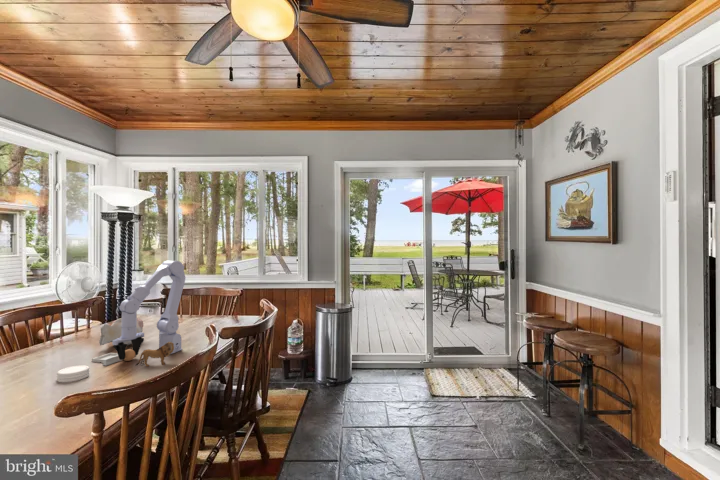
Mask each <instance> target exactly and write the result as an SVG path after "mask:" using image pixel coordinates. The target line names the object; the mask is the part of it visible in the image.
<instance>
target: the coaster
mask: <svg viewBox="0 0 720 480" xmlns="http://www.w3.org/2000/svg"><path fill="white" fill-rule="evenodd" d="M89 376H90V367H89V366H88V365H73V366H67V367H64V368H62V369H60V370H58V371H57V372H56V382H58V383H71V382H78V381H80V380H84V379H86V378H88V377H89Z"/></svg>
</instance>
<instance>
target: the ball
mask: <svg viewBox="0 0 720 480" xmlns="http://www.w3.org/2000/svg"><path fill="white" fill-rule="evenodd" d="M135 357H136V356H135V351H134V350H133V348H132V349H131V348H128V349H126V350H125V358H124V361H127V362H130V361H132V360H133V359H135Z"/></svg>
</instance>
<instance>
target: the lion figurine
mask: <svg viewBox="0 0 720 480" xmlns="http://www.w3.org/2000/svg"><path fill="white" fill-rule="evenodd" d="M173 350H174V343H172V342H168V343H166V344H165V345H163V346H161V347H160V348H159V347H158V348H157V349H149V348H148V349H144V350H143V351H142V352H141V353H140V355H139V360H138V362H137V363H136V364H135V367H136V366H137V367H138V365H141V366H142V365H145V367H149V366H150V364H148V360H149V358H151V359H160V362H161V363H160V364H161V365H162V366H165V365H166V361H165V358H167V357H169V356H170V355H172V354H171V353H172V352H173Z"/></svg>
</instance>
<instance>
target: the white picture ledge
mask: <svg viewBox="0 0 720 480" xmlns="http://www.w3.org/2000/svg"><path fill="white" fill-rule="evenodd" d="M136 356H137V355H135V357H136ZM121 361H122V360H120V359H119V356H118V355H116V356H113V357H110V358H107V359H104V363H102V366H105V367H107V366H110V365H112V364H115V363H116V364H117V363H118V362H121Z"/></svg>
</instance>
